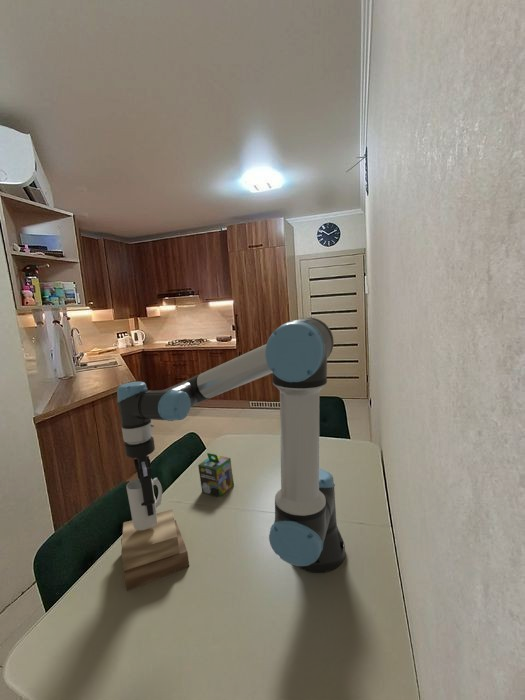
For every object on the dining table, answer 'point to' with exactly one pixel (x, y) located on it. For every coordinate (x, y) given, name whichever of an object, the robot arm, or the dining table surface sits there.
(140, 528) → the mug
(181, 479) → the dining table surface
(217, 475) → the chalk box
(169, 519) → the beech slab
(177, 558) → the wooden stepped stand
